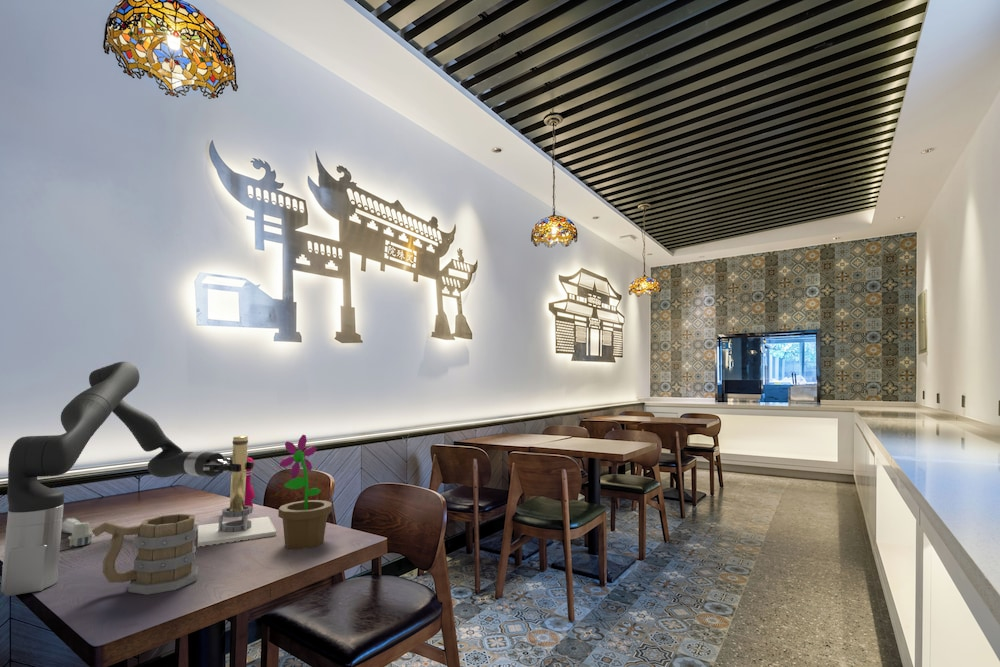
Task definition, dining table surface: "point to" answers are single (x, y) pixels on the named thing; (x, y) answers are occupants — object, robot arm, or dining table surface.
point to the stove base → (235, 528)
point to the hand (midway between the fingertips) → (246, 466)
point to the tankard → (154, 553)
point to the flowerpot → (303, 503)
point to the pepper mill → (249, 486)
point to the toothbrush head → (77, 531)
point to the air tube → (238, 473)
